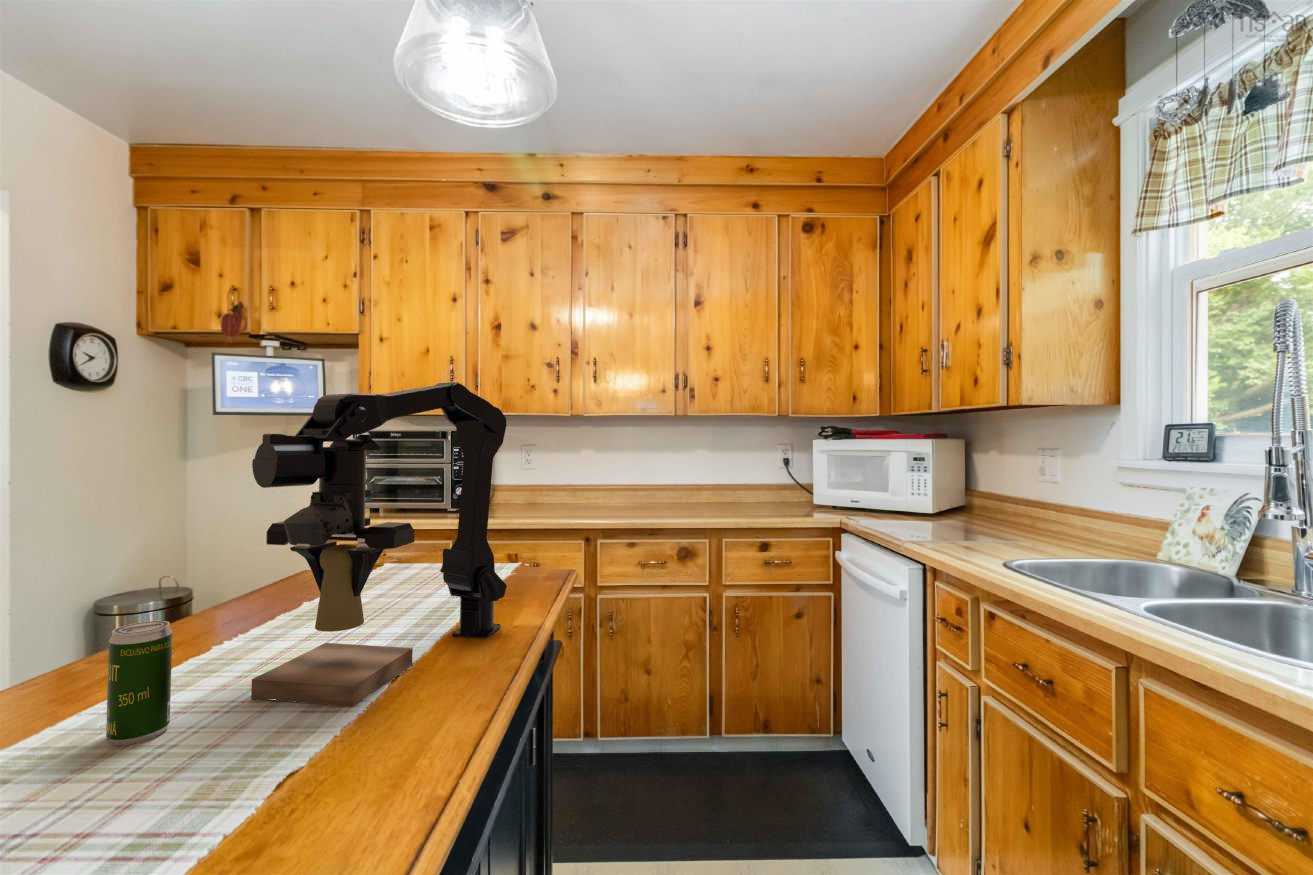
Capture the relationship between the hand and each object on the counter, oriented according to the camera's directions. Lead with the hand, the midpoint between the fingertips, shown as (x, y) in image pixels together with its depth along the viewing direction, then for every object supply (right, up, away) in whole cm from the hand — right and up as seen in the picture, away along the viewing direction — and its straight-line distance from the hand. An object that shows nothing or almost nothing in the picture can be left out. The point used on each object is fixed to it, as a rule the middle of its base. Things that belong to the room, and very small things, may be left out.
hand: (340, 595), depth 81 cm
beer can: (-14, -12, -16) cm, 24 cm away
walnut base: (0, -12, 0) cm, 12 cm away
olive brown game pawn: (0, -4, 0) cm, 4 cm away
